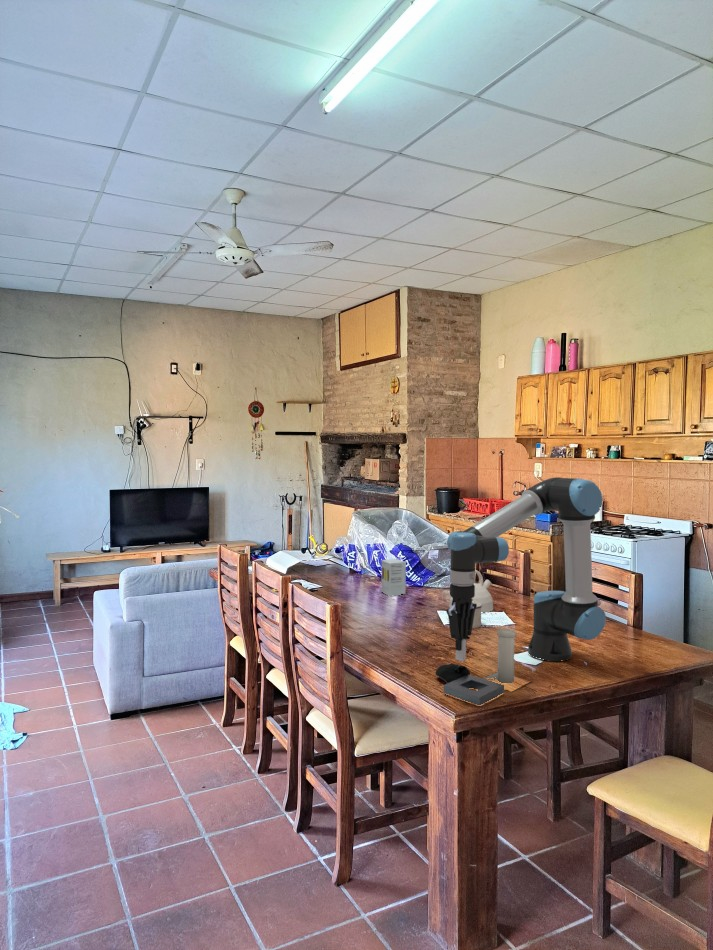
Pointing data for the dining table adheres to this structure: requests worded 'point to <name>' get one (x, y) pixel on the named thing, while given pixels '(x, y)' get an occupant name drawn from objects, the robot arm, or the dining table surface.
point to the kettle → (481, 594)
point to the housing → (462, 691)
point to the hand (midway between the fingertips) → (460, 659)
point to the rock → (452, 672)
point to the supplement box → (393, 577)
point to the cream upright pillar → (506, 655)
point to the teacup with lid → (477, 615)
